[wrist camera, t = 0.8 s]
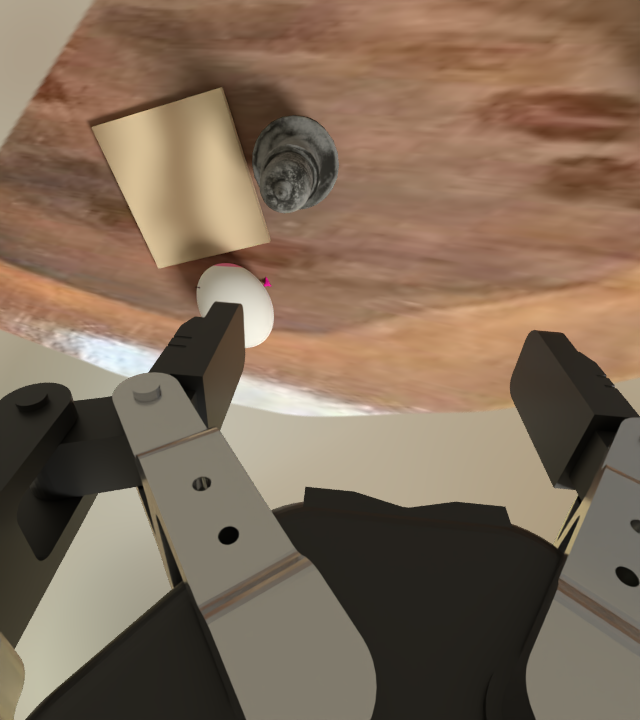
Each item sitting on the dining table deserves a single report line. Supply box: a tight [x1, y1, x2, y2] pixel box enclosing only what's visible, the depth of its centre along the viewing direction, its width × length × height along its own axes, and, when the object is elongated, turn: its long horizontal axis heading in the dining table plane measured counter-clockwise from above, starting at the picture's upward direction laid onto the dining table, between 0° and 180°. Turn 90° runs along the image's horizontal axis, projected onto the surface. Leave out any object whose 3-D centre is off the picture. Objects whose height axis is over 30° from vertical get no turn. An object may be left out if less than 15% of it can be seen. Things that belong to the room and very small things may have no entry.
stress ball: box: [197, 263, 274, 348], centre depth 37 cm, size 8×8×7 cm
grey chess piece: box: [252, 115, 339, 213], centre depth 27 cm, size 6×6×12 cm
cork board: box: [91, 87, 271, 268], centre depth 33 cm, size 10×11×1 cm
